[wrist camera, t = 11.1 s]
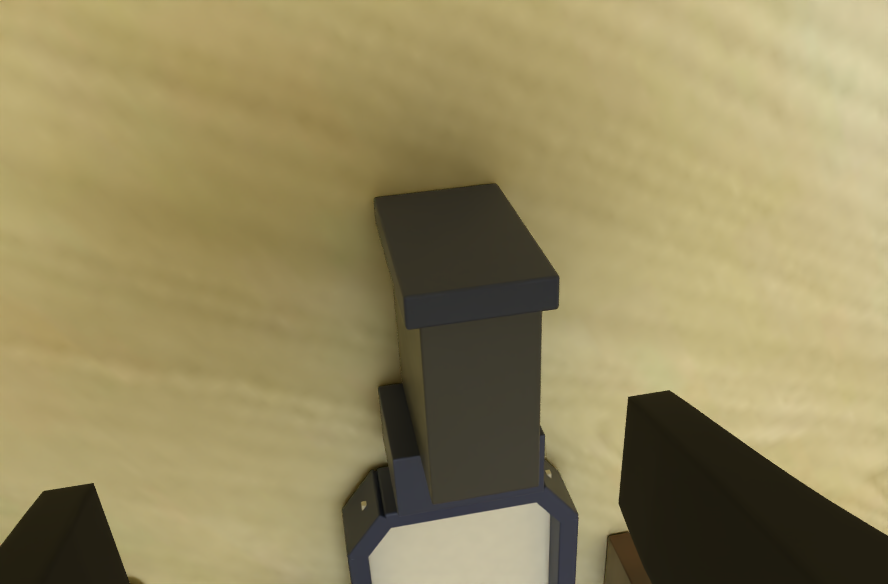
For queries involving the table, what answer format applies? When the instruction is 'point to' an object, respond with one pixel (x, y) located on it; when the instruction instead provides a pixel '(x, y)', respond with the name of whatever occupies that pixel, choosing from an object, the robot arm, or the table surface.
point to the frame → (624, 562)
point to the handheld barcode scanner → (463, 405)
